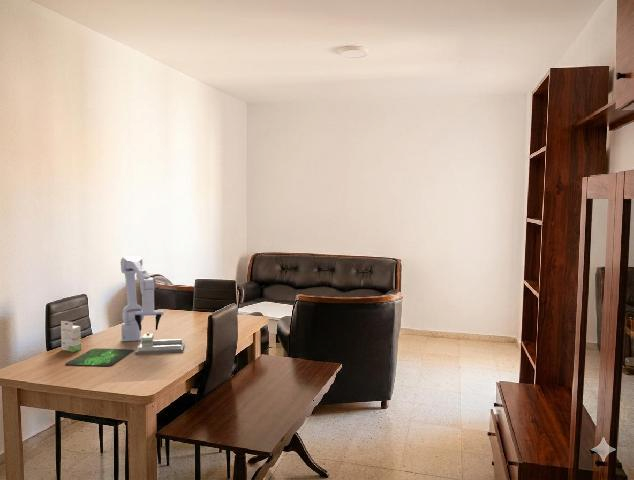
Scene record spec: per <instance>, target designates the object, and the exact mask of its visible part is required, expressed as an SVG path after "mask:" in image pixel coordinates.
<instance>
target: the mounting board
mask: <svg viewBox="0 0 634 480" xmlns="http://www.w3.org/2000/svg"><path fill="white" fill-rule="evenodd" d="M167 345H181V349H179V350H158V351H138V347H139V346H140V344H138V346H137V348H136V349H135V355H151V354H154V355H155V354H169V353H170V354H172V353H184V347H185V342H182V344H160V345H153V346H167Z"/></svg>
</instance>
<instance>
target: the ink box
mask: <svg viewBox="0 0 634 480" xmlns="http://www.w3.org/2000/svg"><path fill="white" fill-rule="evenodd" d="M81 334H82V333H81V326H79V325H73V321H67V320H61V322H60V337H61V339H60V340H61V350H62V351H65V350H66V351H67V352H72V353H74V352H79V351H80V350H82V335H81Z"/></svg>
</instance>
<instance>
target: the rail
mask: <svg viewBox="0 0 634 480" xmlns="http://www.w3.org/2000/svg"><path fill="white" fill-rule="evenodd" d="M153 342H154V345H160V344H182V343H183V339H182V338H178V339H174V338H173V339H157V340H156V339H155V340H154V339H153ZM139 345H140V346H139ZM139 345H138V346H139V347H138V346H137V348H138V351H158V350H179V349H181V345H167V346H145V347H142V340H140V343H139Z"/></svg>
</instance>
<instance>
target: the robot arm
mask: <svg viewBox="0 0 634 480" xmlns="http://www.w3.org/2000/svg"><path fill="white" fill-rule="evenodd" d="M120 271H121V273H122V274H124V277H125V288H126V289H125V290H126V300H127V301H126V302H127V304H126V306H124V307H123V308H122V315H121V317H122V318H121V319H122V321H123V323H122V324H121V339H120V340H121V342H136V341H138V342H139V341H142V337H143V335H141V331H142V321H143V320H144V316H145V317H146V316H155V331H158V327H159V323H160V320H161V318H162V316H164V314H165V313H164V310H155V290H156V287H157V282H156V279H155V278H154V277H151V276H150V275H149V273H148V272H147V270H145V269H144V268H143V258H142V256H140V255H139V256H123V257H121V259H120ZM136 279H137V281H138V283H139V288H140V294H141V305H140V304H138V297H137V289H136V288H137V287H136Z"/></svg>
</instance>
